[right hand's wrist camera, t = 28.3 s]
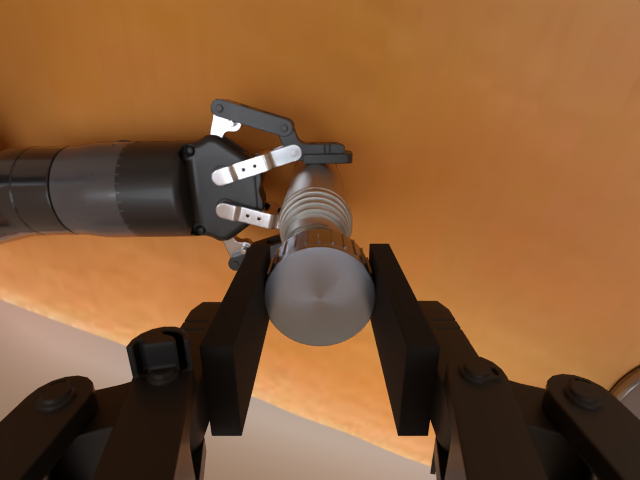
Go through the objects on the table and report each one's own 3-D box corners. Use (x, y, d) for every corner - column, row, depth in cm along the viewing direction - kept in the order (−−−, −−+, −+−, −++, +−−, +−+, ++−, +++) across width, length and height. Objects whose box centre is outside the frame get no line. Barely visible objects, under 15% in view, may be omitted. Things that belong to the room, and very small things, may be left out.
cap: (247, 270, 14) (237, 293, 13) (325, 205, 14) (326, 221, 12) (314, 335, 16) (313, 366, 14) (391, 280, 15) (401, 304, 13)
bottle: (324, 142, 34) (334, 195, 14) (345, 181, 35) (380, 277, 16) (286, 164, 35) (247, 243, 15) (308, 201, 36) (297, 317, 16)
